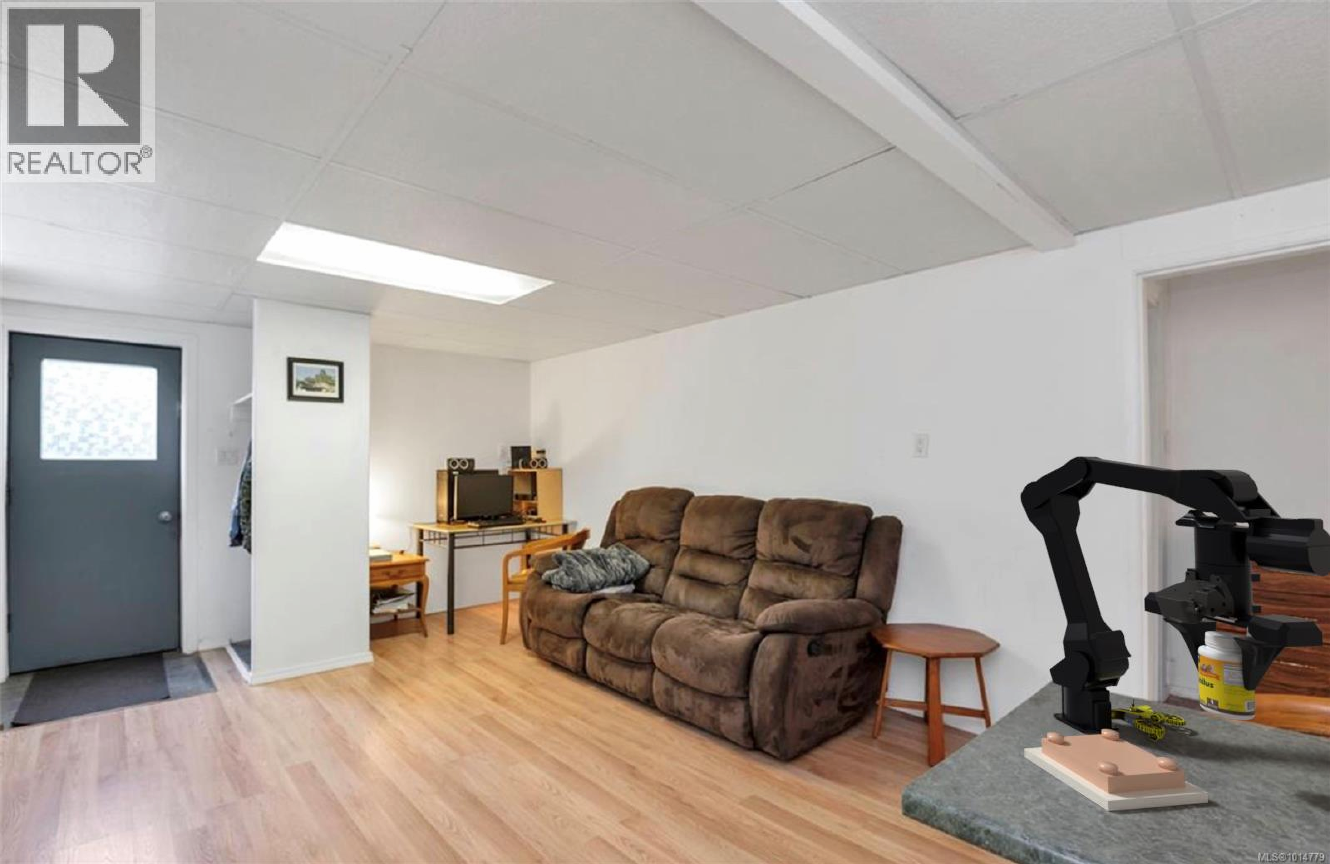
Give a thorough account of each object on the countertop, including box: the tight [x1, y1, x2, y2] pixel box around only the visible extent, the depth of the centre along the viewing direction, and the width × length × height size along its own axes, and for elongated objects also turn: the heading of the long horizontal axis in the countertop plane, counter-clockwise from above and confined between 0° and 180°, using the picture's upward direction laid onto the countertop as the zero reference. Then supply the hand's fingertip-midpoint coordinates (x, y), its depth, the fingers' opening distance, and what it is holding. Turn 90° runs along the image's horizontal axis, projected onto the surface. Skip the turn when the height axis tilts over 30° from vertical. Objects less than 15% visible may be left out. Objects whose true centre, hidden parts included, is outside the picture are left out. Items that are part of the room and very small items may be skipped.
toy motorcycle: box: [1112, 698, 1187, 742], centre depth 99 cm, size 12×4×7 cm
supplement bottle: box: [1198, 631, 1256, 721], centre depth 84 cm, size 6×6×10 cm
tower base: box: [1024, 729, 1209, 812], centre depth 84 cm, size 14×14×4 cm
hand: (1225, 681), depth 84 cm, fingers closed on supplement bottle, 6 cm apart
